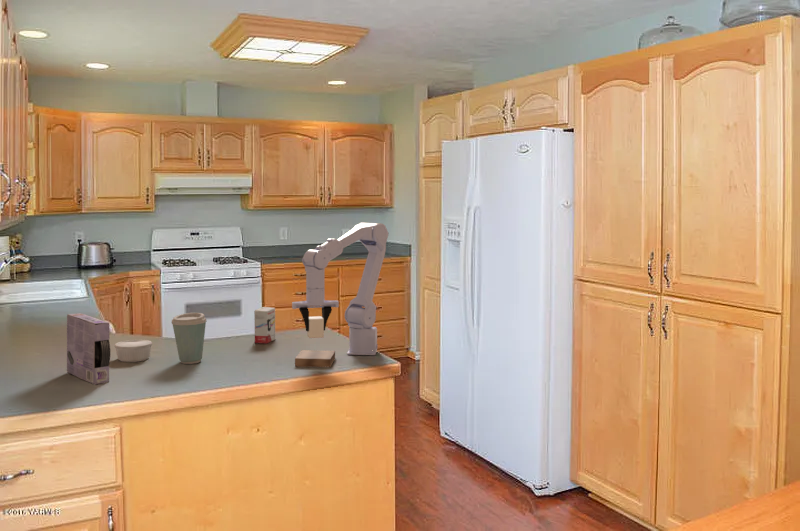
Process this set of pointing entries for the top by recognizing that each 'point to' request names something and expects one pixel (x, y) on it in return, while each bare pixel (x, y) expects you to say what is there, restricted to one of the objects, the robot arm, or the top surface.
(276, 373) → the top surface
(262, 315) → the ink box
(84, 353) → the cake pan box
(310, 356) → the walnut block
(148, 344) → the ramekin
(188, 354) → the disposable coffee cup
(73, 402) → the top surface
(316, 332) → the cream block
